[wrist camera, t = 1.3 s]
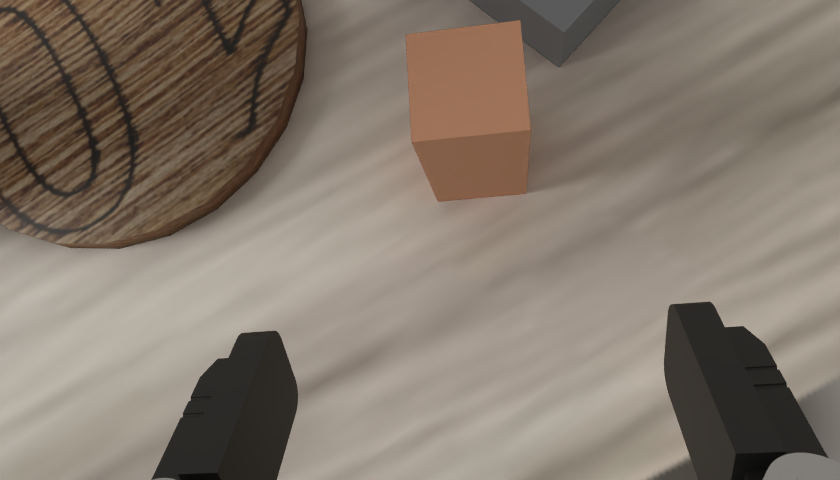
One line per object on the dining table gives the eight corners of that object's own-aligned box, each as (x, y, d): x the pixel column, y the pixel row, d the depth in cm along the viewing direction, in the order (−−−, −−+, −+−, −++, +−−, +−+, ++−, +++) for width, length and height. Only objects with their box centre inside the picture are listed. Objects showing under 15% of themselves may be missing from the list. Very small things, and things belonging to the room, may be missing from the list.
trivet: (185, -172, 45) (172, -195, 44) (386, 89, 39) (379, 75, 38) (-105, 38, 45) (-131, 24, 44) (51, 332, 39) (29, 330, 38)
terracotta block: (437, 201, 37) (411, 142, 28) (432, 119, 38) (405, 34, 29) (526, 193, 37) (530, 129, 27) (518, 110, 38) (520, 20, 28)
